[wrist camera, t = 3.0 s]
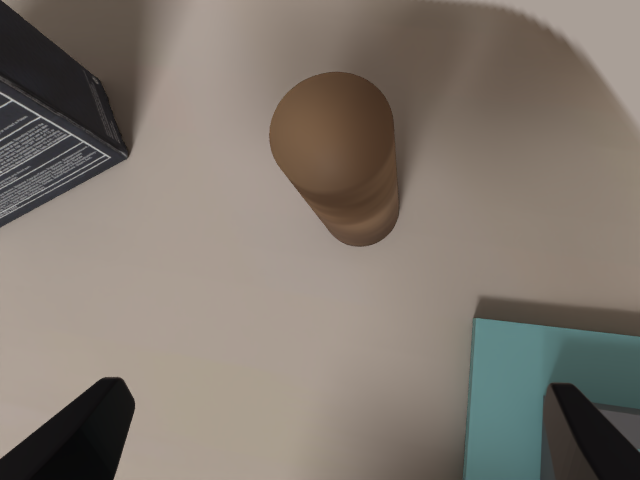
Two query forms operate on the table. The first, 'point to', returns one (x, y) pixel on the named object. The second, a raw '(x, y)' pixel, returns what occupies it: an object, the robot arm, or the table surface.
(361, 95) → the peg
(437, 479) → the table surface
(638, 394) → the docking socket
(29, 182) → the small box
